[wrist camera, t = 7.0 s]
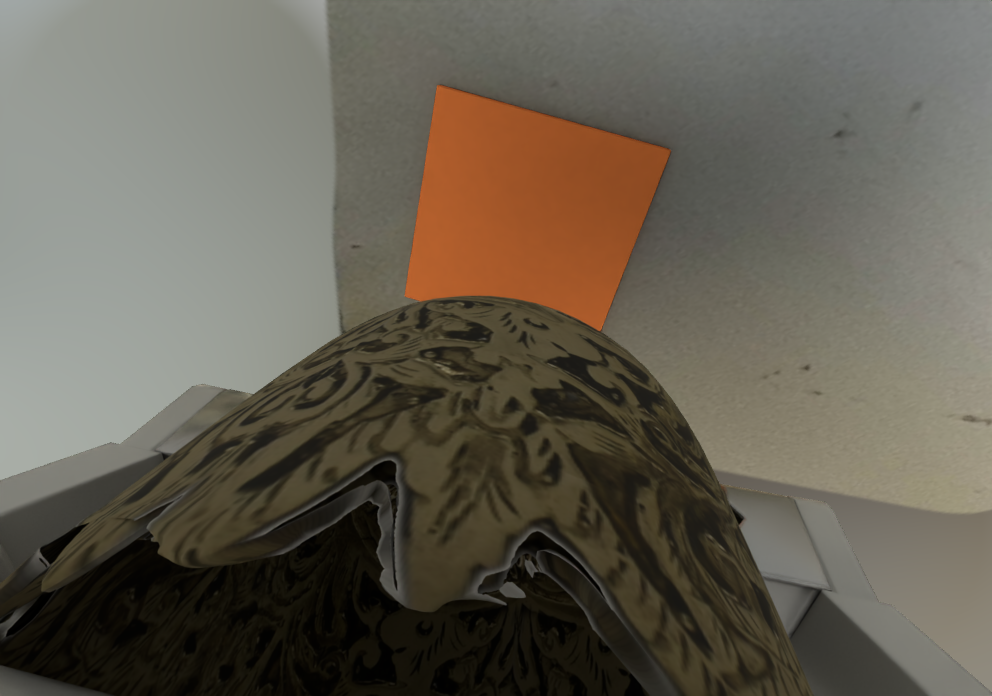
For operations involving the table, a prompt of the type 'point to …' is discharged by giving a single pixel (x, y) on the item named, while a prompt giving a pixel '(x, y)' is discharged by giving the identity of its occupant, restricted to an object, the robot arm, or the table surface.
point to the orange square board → (528, 207)
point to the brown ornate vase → (418, 534)
